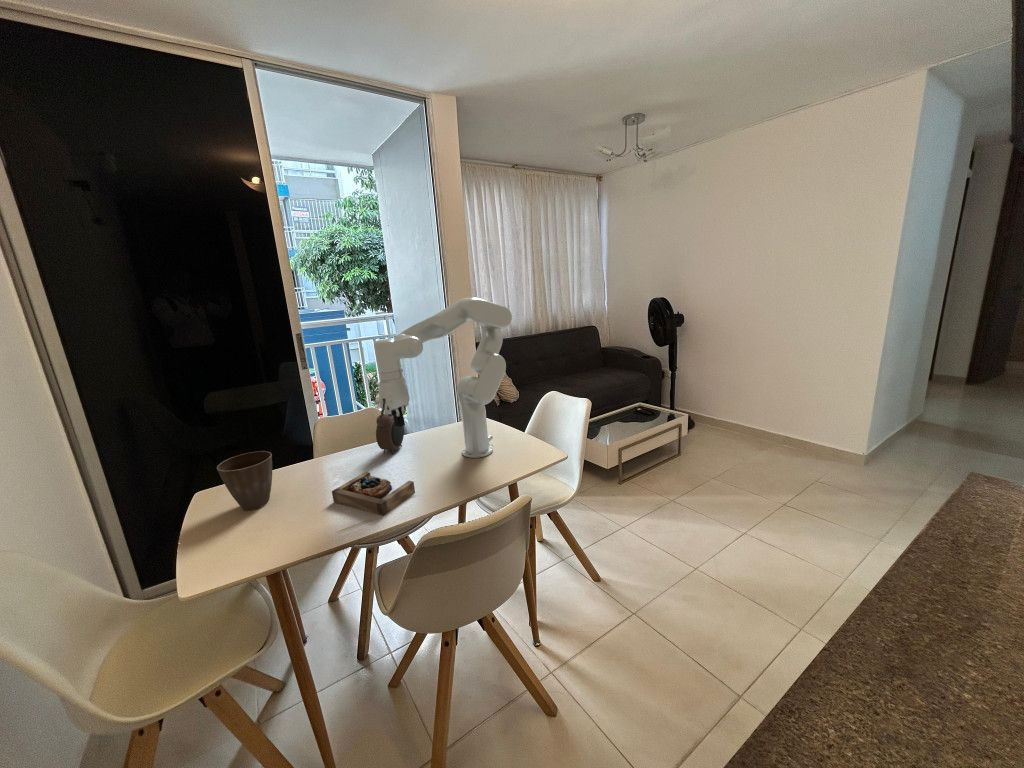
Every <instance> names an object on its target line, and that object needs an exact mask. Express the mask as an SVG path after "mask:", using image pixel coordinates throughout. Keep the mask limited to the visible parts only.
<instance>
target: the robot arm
mask: <svg viewBox="0 0 1024 768" xmlns="http://www.w3.org/2000/svg"><path fill="white" fill-rule="evenodd" d="M512 320H513V315H512V312H511V310H510V309H509V307H507V306H505V305H501V304H498V303H495V302H491V301H489V300H485V299H482V298H479V297H464V298H460V299H458V300H457V301H454V303H452V304H450V305H449V306H447V307H445V308H444V309H442V310H440V311H439V312H437V313H435V314H433V315H432V316H430V317H428V318H426V319H424V320H422V321H420V322H418V323H417V322H416V323H415V324H413V325H411V326H410V327H408V328H406V329H404V330H402V331H401V332H400V333H399V334H397V335H395V337H394V338H384V339H379V340H377V341H375V342H374V344H373V348H374V353H375V358H376V364H377V368H378V374H379V379H380V381H379V382H378V398H379V405H380V409H381V410H382V409H383V410H384V409H385V410H384V414H391V415H392V416H393V417H394V422H395V426H398V427H402V426H403V427H404V426H405V425H406V424H405V423H406V422H405V417H404V414H405V410H406V408H407V407H408V406H409V402H410V394H409V389H408V386H407V382H406V379H405V377H404V374H403V371H404V370H403V369H402V364H401V359H402V360H403V359H414V358H417V357H419V356H420V355H421V354H422V353H423V351H424V343H427V342H429V341H431V340H436V339H440V338H444V337H446V336H449V335H450V334H452V333H453V332H455V331H457V329H459V328H461V327H462V326H464V325H466V324H467V323H469V322H474V323H475V322H476V323H479V326H480V329H481V338H480V341H479V344H478V346H477V348H476V351H475V353H474V355H473V357H472V360H471V362H470V368H471V370H472V372H473V373H475V374H477V375H479V377H477V376H474V375H466V376H464V377H462V378H460V380H459V381H458V383H457V386H456V390H457V391H456V392H457V396H458V401H459V404H460V411H461V418H462V427H463V428H462V429H463V436H464V437H463V438H464V447H463V448H462V449H461V454H462V456H464V457H466V458H471V459H479V458H484V457H487V456H489V455H490V454H492V453H493V451H494V448H493V446H492V444H490V441H492V440H493V438H494V437H493V435H491V434H488V423H487V411H486V406H485V405H488V404H489V403H491V402H492V401H493V400H494V398H495V396H496V394H497V393H498V390H499V388H500V385H501V383H502V381H503V379H504V376H505V374H506V369H507V364H506V363H507V362H506V360H505V358H504V357H503V356H502V355H500V354H499V353H500V351H501V349H502V345H503V341H504V339H503V331H502V329H506V328H508V327H509V326H510V325H511V323H512ZM394 410H395V411H394Z"/></svg>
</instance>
